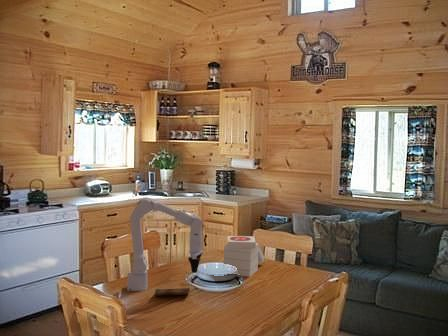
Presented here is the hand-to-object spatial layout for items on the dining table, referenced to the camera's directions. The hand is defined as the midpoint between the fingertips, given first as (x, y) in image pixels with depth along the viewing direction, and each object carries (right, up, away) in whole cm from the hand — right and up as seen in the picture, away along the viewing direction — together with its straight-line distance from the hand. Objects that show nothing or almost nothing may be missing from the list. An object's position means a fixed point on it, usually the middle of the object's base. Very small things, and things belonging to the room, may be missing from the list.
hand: (195, 270), depth 227 cm
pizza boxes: (+25, -8, +39) cm, 47 cm away
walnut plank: (-10, -8, -13) cm, 18 cm away
